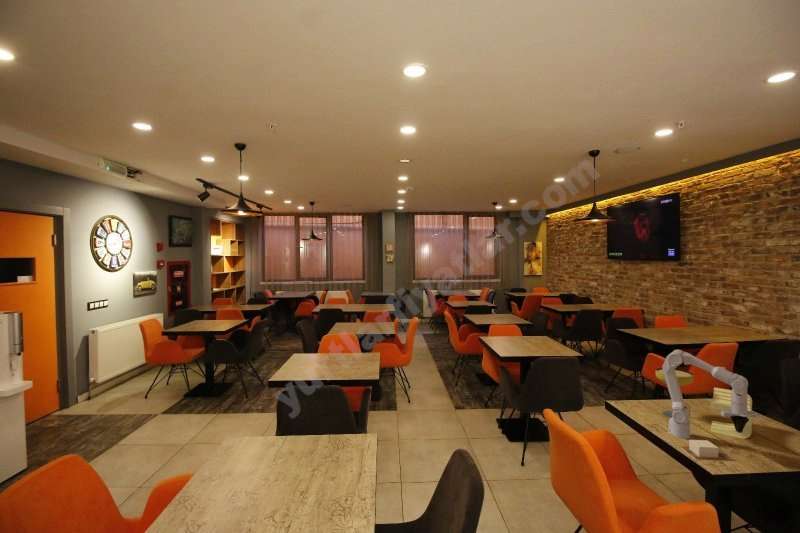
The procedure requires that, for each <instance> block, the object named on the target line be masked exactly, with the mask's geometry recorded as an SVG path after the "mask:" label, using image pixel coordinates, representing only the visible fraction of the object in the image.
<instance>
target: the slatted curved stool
mask: <svg viewBox="0 0 800 533" xmlns="http://www.w3.org/2000/svg"><path fill="white" fill-rule="evenodd" d="M731 392H732V389H727V388H726V389H725V388H721V387H716V386H715V387H713V394H712V395H713V396H712V401H711V402H710V401H709V408H710V409H714V410H717V411H720V412H721V411H726V410H731ZM752 406H753V399H752V396H750V395H749V394H748V404H747V411H750V412H753V407H752ZM747 418H748V419H749V421H748V422H747V423H746V425H745V426H744V429H743V431H742V433H739V432H737V431H736V430H735V426H734V423H728V422H722V421H717V420H712V421H711V424H710V425H711V426H710V432H713V433H717V434H722V435H725V436H731V437H734V438H739V439H748V438H749V437H750V436H751V435H752V432H753V431H752V428H753V427H752V426H753V425H752V420H753V417H747Z"/></svg>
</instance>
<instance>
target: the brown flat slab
mask: <svg viewBox="0 0 800 533" xmlns="http://www.w3.org/2000/svg"><path fill="white" fill-rule="evenodd" d="M681 448H682V449H683V450H685V451H686V452H687V453H689V454H690V455H691V456H692V457H694V458H695V459H696V460H698V461H699V460H701V461H722V462H723V461H724V462H736V460H735V459H734V458H732V457H731V456H730V455H728V454H726V453H725V452H724V451H722V449H721V450H720V449H719V448H718V458H715V457H699V456H697V455H696V454H695V453H693V452H692V451H691V450H690V449H689V446H681Z"/></svg>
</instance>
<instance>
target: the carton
mask: <svg viewBox="0 0 800 533" xmlns="http://www.w3.org/2000/svg"><path fill="white" fill-rule="evenodd" d="M688 441H689V442H688V443H689V446H688V447H689V449H690V450H691V451H692V452H693V453H695V454H696V455H697V456H699V457H715V458H718V449H719V447H718V446H717V445H715V444H713V443H712V442H711V441H709V440H707V439H706V440H705V439H704V440H703V439H689V440H688Z"/></svg>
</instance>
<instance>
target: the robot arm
mask: <svg viewBox="0 0 800 533" xmlns="http://www.w3.org/2000/svg"><path fill="white" fill-rule="evenodd" d="M682 364H683V365H684V366H685V365H693V366H695V367H697V368H699V369H702V370H703V371H706V372H708V373H709V374H710V373H711V375H712V377H713V378H715V379H716V380H719V381H721V382H723V383H725V384H727V385H730V387H731V390H732V392H731V410H726V411H721V410H720V415H721V416H722V417H729V419H731V421H732V422H733V423H732V424H734V426H735V430H736V431H737V432H739V433H742V431H743V429H744V426H745V425H746V423H747V422H748V421H749V419H748V418H747V417H752V418H756V419H757V418H759V417H758V414H759V413H757V412H756V411H752V412H750V411H747V404H748V395H749V394H748V387H749V382H748V379H747V378H746V377H744V376H743V375H740V374H738V373H734V372H731V371H729V370H728V369H726V367H724V366H722V367H721V366H714V365H711V364H710V363H707V362H706V361H703V359H700V358H699V357H697V356H694V355H692V354H691V353H689V352H686V351H683V350H681V349H673V351H672V352H670V353H669V354H668V355H667V356H666V357H665V360H664V362H663V364H662V367H661V368H662V369H663V372H664V376H665V379H666V383H667V384H666V383H665V384H666V386H667V389H668V394H669V396H670V401H671V411H672V410H673V412H672V418H671V417H669V419H668V431H667V432H666V435H667V434H671V435H672V436H673V437H675V438H678V439H683V440H688V439H689V440H690V439H691V420H690V419H689V417H690V416H691V411H690V410H691V409H689V407H688V406H687V404H686V403H687V402H685V401H684V399H683V394H682V391H681V387H679V383H678V380H677V376H676V373H675V369H677V367H678V366H680V365H682Z"/></svg>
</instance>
